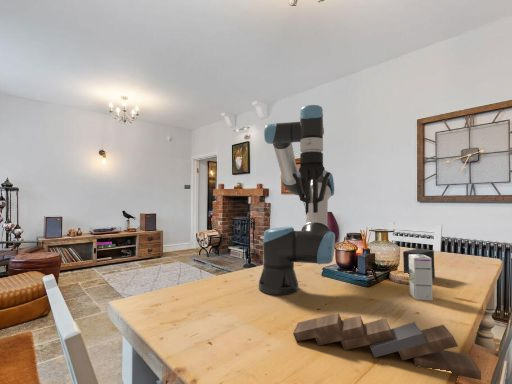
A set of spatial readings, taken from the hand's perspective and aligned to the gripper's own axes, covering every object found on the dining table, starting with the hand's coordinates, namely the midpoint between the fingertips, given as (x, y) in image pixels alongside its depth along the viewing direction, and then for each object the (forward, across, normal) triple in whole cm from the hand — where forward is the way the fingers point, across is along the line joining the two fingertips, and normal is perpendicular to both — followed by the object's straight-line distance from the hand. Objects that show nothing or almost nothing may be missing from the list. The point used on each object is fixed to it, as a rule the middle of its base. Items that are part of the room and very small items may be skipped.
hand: (311, 222), depth 92 cm
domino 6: (+26, +28, -22) cm, 44 cm away
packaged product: (+27, +12, +42) cm, 51 cm away
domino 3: (+25, +13, -23) cm, 37 cm away
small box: (+27, +35, +48) cm, 65 cm away
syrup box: (+27, +33, +21) cm, 47 cm away
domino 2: (+26, +7, -23) cm, 35 cm away
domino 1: (+25, +2, -24) cm, 35 cm away
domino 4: (+25, +19, -23) cm, 39 cm away
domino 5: (+25, +25, -22) cm, 42 cm away
